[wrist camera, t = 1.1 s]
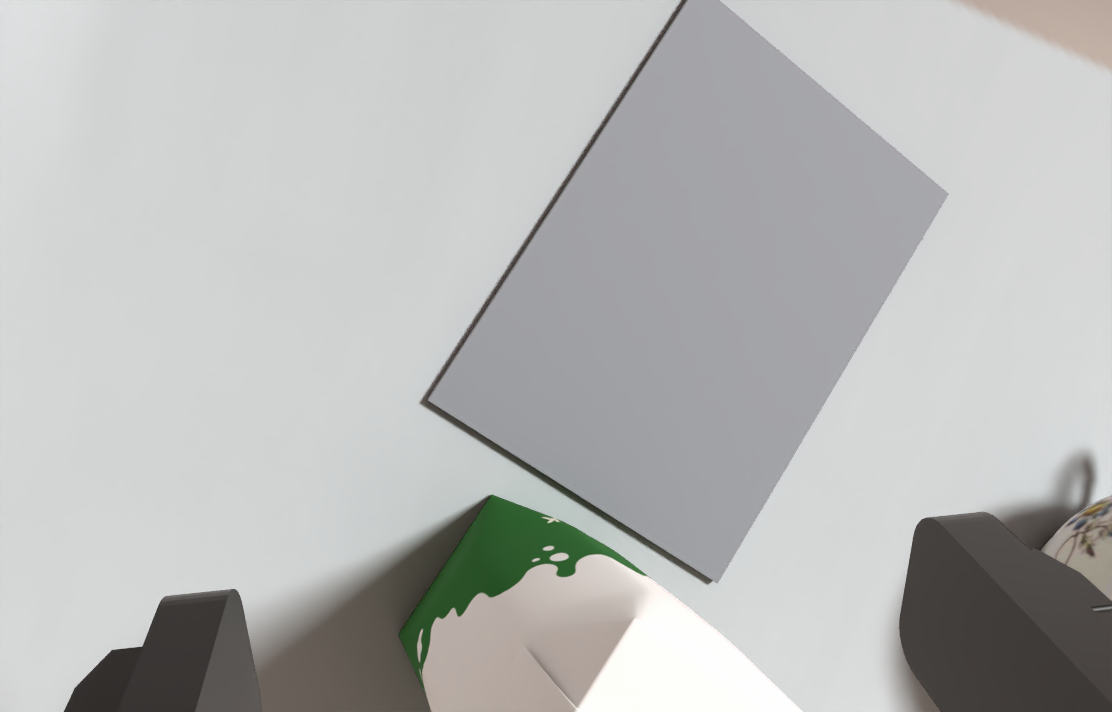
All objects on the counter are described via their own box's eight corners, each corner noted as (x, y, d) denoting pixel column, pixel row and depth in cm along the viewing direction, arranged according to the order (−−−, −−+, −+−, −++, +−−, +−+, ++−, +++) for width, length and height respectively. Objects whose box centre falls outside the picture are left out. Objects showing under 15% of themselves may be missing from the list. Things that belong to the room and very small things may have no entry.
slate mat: (426, 399, 38) (428, 400, 38) (695, -14, 41) (698, -17, 40) (713, 580, 42) (717, 583, 42) (943, 195, 45) (948, 194, 44)
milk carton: (367, 642, 38) (430, 979, 19) (488, 462, 39) (664, 607, 20) (532, 737, 40) (741, 1127, 21) (643, 564, 41) (938, 785, 22)
